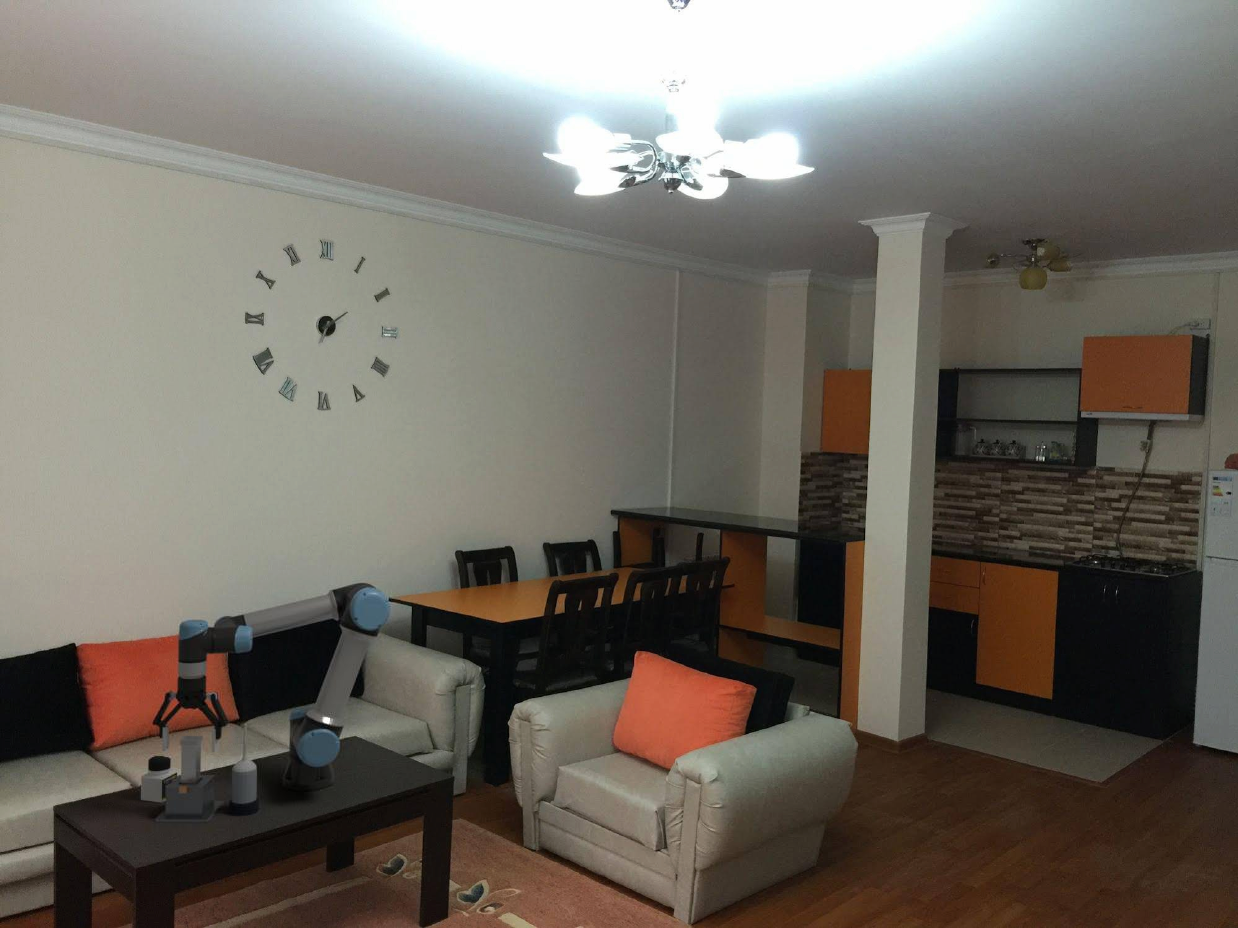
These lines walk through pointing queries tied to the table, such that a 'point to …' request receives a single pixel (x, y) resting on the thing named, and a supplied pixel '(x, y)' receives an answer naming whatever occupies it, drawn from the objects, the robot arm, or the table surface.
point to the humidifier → (244, 785)
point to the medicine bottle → (157, 779)
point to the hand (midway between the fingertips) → (190, 750)
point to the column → (190, 759)
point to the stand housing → (190, 801)
